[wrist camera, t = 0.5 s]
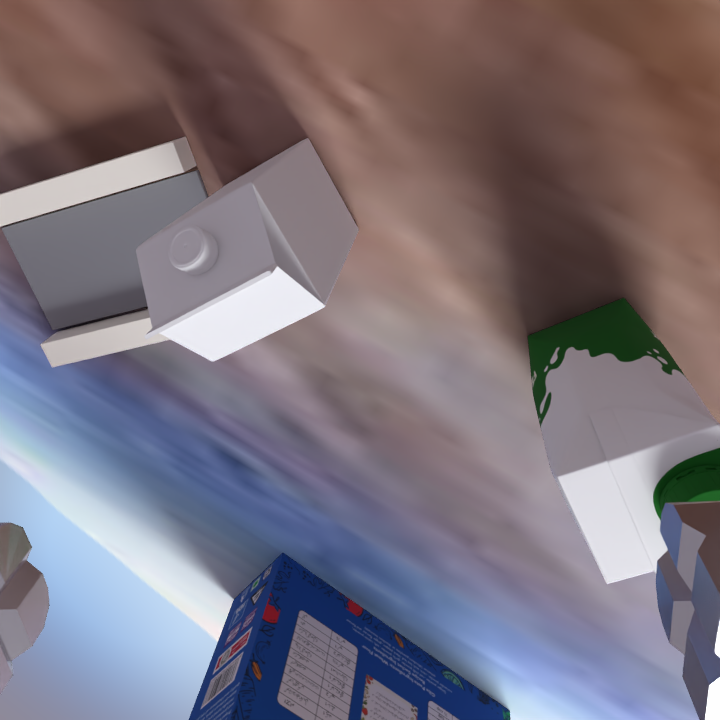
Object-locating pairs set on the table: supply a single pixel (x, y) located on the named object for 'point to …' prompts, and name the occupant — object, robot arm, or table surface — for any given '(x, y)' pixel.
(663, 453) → the soya milk
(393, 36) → the table surface
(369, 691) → the pasta box
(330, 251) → the milk carton
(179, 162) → the cradle
